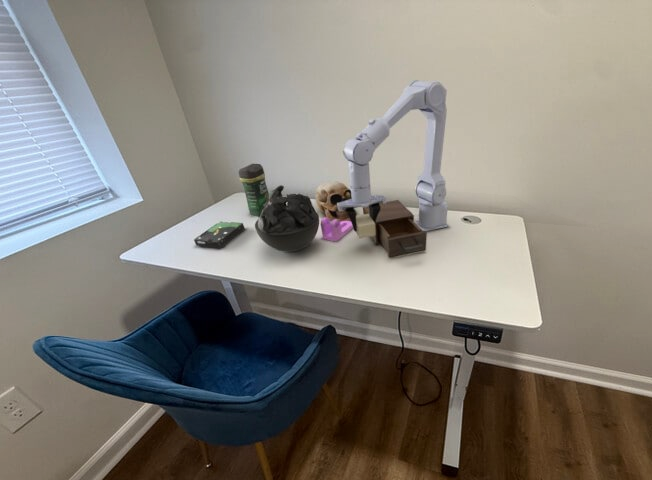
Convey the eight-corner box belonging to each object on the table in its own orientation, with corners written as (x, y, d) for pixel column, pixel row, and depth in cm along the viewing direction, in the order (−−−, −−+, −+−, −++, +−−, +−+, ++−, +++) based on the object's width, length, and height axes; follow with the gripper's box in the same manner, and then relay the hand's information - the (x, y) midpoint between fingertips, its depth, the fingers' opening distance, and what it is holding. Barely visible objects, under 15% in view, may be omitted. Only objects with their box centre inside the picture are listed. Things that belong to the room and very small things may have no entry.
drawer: (432, 258, 96) (434, 239, 92) (394, 266, 93) (394, 247, 89) (409, 232, 110) (409, 215, 106) (375, 238, 107) (374, 221, 103)
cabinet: (413, 236, 109) (414, 215, 104) (376, 244, 106) (374, 222, 101) (398, 220, 120) (398, 199, 115) (364, 226, 117) (362, 205, 112)
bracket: (336, 241, 109) (333, 222, 104) (322, 238, 111) (319, 220, 107) (355, 225, 117) (354, 207, 113) (343, 223, 120) (340, 205, 115)
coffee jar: (263, 217, 127) (250, 169, 116) (247, 215, 130) (232, 168, 118) (277, 207, 135) (265, 162, 123) (261, 206, 137) (248, 161, 125)
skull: (355, 223, 119) (348, 187, 111) (312, 225, 123) (302, 191, 115) (364, 207, 131) (358, 174, 124) (325, 210, 135) (317, 178, 128)
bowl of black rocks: (312, 265, 97) (300, 206, 86) (252, 262, 101) (233, 205, 89) (330, 234, 113) (322, 181, 101) (278, 232, 116) (264, 180, 105)
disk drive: (221, 249, 109) (245, 229, 120) (218, 242, 107) (243, 222, 118) (196, 246, 111) (221, 227, 122) (192, 239, 109) (219, 220, 120)
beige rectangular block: (369, 225, 103) (368, 213, 101) (375, 235, 97) (375, 223, 95) (353, 228, 102) (352, 216, 100) (359, 238, 96) (358, 226, 94)
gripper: (338, 193, 87) (344, 238, 95) (388, 185, 90) (389, 229, 98) (333, 185, 92) (339, 228, 100) (380, 178, 95) (382, 220, 103)
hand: (363, 228), depth 99 cm, fingers closed on beige rectangular block, 5 cm apart
